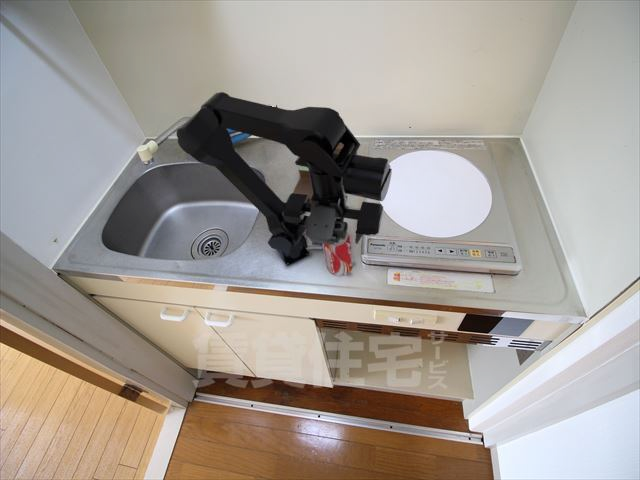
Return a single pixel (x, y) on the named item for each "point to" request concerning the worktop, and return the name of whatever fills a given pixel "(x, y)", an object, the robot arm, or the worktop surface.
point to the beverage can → (339, 256)
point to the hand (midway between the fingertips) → (335, 238)
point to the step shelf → (308, 179)
